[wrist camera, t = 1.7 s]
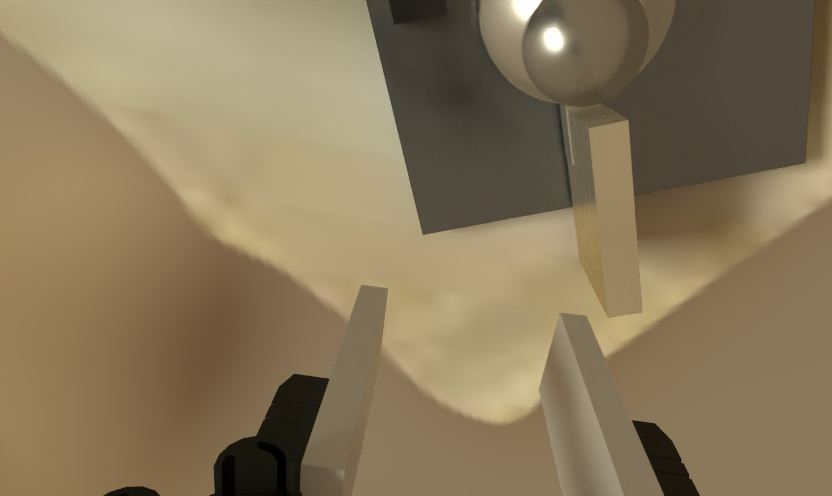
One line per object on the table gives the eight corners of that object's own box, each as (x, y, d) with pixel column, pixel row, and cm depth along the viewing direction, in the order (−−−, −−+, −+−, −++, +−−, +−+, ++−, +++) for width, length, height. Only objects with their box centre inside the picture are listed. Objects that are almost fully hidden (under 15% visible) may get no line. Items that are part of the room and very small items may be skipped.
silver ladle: (463, -69, 24) (465, -93, 18) (650, -120, 22) (715, -162, 17) (520, 270, 30) (535, 329, 25) (668, 244, 29) (719, 300, 23)
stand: (335, -154, 25) (308, -191, 20) (802, -297, 22) (895, -378, 17) (424, 221, 32) (419, 257, 27) (784, 153, 29) (845, 179, 24)
